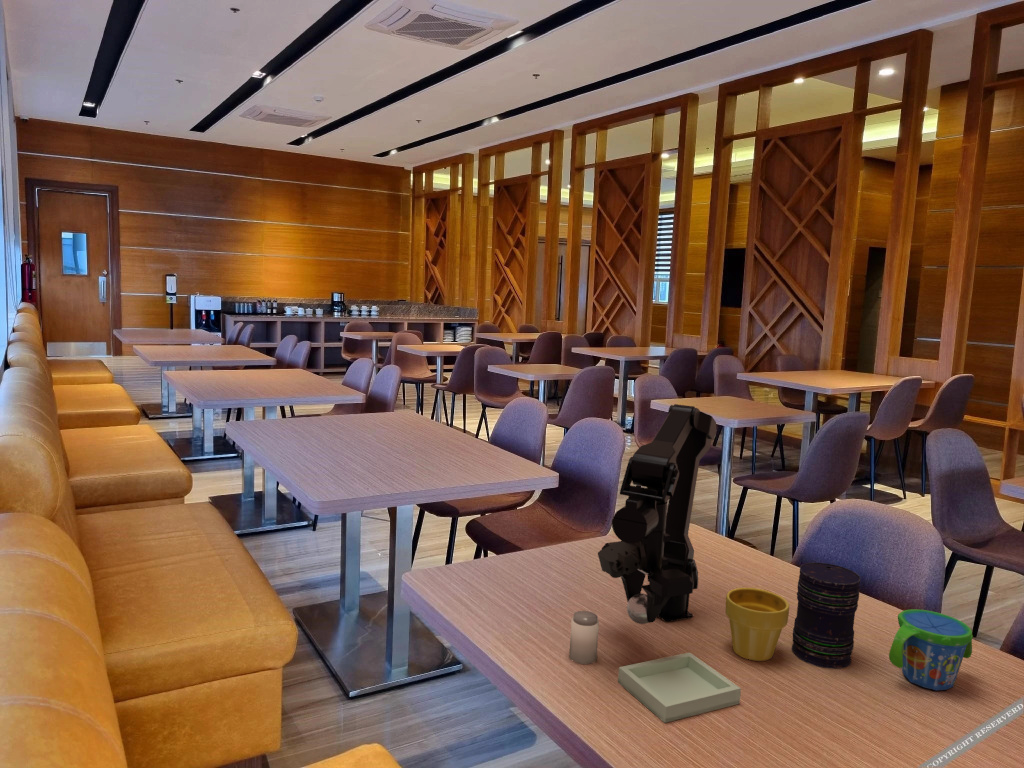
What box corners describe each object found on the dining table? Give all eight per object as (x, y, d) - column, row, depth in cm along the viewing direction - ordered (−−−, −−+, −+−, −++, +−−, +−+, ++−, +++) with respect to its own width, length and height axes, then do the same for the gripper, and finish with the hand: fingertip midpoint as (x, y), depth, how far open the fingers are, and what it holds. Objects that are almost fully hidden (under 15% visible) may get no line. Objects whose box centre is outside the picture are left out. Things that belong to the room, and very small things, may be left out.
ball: (644, 614, 132) (646, 587, 131) (661, 626, 127) (663, 598, 126) (620, 618, 129) (622, 591, 129) (637, 631, 125) (639, 602, 124)
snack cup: (942, 661, 131) (949, 606, 130) (993, 694, 121) (1001, 634, 120) (864, 667, 128) (871, 610, 126) (910, 701, 118) (918, 639, 116)
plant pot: (752, 672, 124) (758, 615, 123) (709, 644, 133) (713, 591, 132) (797, 660, 129) (802, 606, 128) (752, 634, 138) (757, 583, 137)
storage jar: (854, 674, 125) (864, 588, 123) (791, 662, 128) (800, 578, 126) (848, 647, 135) (857, 567, 133) (790, 637, 138) (798, 559, 136)
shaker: (587, 648, 130) (590, 608, 129) (601, 661, 125) (604, 619, 125) (564, 653, 128) (566, 612, 127) (578, 666, 123) (580, 623, 123)
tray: (688, 666, 125) (689, 652, 125) (739, 703, 114) (740, 688, 114) (617, 682, 119) (619, 667, 119) (664, 723, 108) (666, 706, 108)
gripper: (578, 514, 131) (572, 600, 133) (641, 550, 114) (633, 647, 116) (631, 509, 136) (625, 592, 138) (699, 542, 119) (691, 636, 121)
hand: (641, 615), depth 128 cm, fingers closed on ball, 5 cm apart
